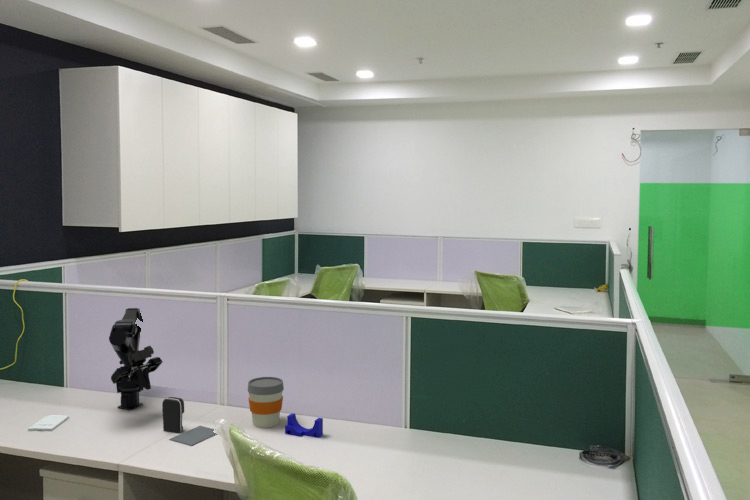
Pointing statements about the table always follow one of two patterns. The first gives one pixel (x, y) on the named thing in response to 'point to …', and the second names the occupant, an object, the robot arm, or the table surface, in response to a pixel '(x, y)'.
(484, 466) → the table surface
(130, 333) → the robot arm
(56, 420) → the external hard drive
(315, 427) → the blue cradle bracket
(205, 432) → the mat
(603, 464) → the table surface
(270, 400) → the reusable coffee cup
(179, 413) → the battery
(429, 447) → the table surface
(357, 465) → the table surface
